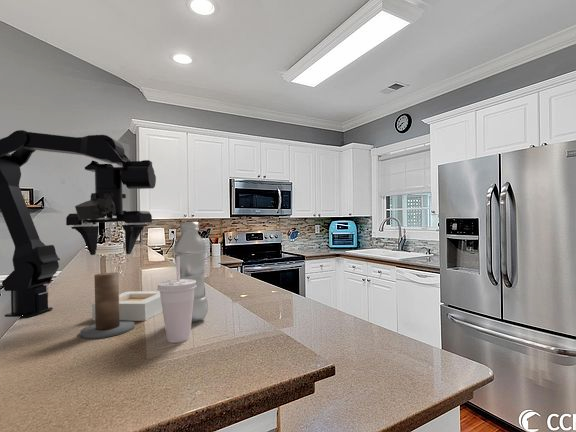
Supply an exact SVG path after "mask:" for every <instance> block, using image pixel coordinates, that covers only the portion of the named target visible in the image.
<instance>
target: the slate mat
mask: <svg viewBox="0 0 576 432" xmlns="http://www.w3.org/2000/svg"><path fill="white" fill-rule="evenodd" d="M135 327H136V326H135V322H134V321H130V320H120V326H119V327H117V328H114V329H110V330H103V331H99V330H96V323H94V324H91V325H89V326H85V327H84V328H82V329H81V330H80V333H79V335H80V337H81V338H83V339H88V340H90V339H94V340H95V339H97V340H98V339H105V338H111V337H115V336H116V337H117V336H119V335H123V334H125V333H128V332H130V331H131V330H133V329H134V328H135Z"/></svg>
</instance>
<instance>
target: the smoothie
mask: <svg viewBox="0 0 576 432" xmlns="http://www.w3.org/2000/svg"><path fill="white" fill-rule="evenodd" d="M175 268H177V271H176V279H171V280H165V281H161V282H159V283H157V291H160V297H161V304H162V310H163V312H162V315H163V322H164V329H165V334H166V341H167V342H168V343H173V344H175V343H177V344H178V343H182V342H186V341H188V340H190V338H191V332H192V322H191V321H192V310H193V300H194V289H195V287H196V281H195V280H192V279H180V257H176V263H175Z"/></svg>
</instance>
